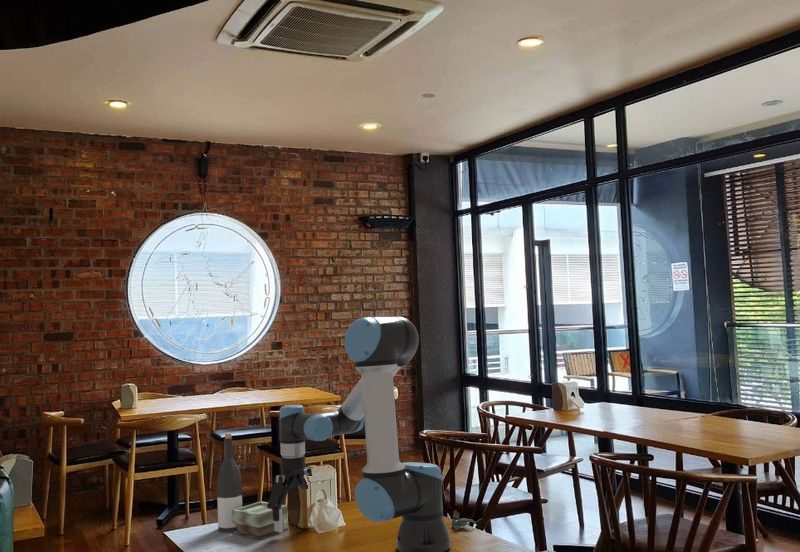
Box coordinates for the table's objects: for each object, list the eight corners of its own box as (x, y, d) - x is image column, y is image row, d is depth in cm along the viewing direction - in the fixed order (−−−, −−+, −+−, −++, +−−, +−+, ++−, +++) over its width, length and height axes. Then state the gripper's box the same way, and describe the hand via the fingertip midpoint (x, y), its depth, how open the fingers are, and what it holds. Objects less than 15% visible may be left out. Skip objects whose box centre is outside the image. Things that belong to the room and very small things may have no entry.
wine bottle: (213, 533, 229) (210, 435, 231) (223, 525, 237) (221, 431, 238) (237, 533, 227) (235, 435, 229) (247, 526, 235) (245, 431, 237)
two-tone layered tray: (288, 529, 229) (287, 505, 230) (259, 539, 219) (258, 514, 220) (261, 524, 236) (260, 501, 237) (232, 534, 226) (231, 509, 227)
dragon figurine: (472, 515, 230) (448, 514, 227) (481, 508, 224) (457, 506, 222) (474, 537, 226) (450, 535, 224) (483, 530, 220) (459, 528, 218)
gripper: (311, 448, 240) (313, 514, 238) (254, 462, 220) (255, 534, 218) (329, 450, 235) (330, 517, 234) (271, 464, 215) (273, 538, 214)
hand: (294, 525), depth 226 cm, fingers open, 13 cm apart
